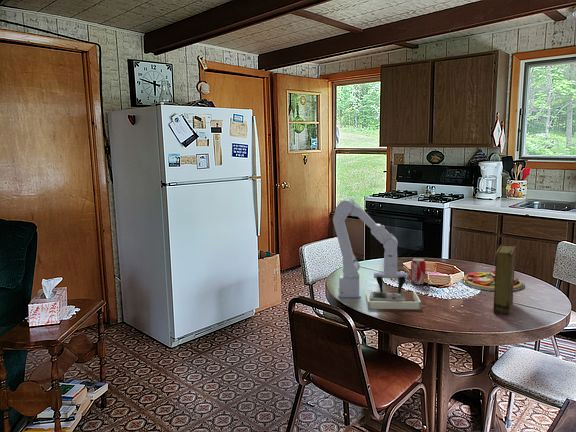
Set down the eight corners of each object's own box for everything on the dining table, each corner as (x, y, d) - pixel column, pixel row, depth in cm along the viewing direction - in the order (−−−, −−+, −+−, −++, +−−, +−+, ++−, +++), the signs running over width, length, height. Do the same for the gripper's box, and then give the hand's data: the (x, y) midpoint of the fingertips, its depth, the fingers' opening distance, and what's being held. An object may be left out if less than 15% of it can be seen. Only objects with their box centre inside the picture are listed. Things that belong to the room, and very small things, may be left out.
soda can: (426, 285, 211) (426, 261, 209) (411, 285, 213) (411, 261, 211) (424, 281, 218) (425, 257, 216) (410, 280, 220) (410, 257, 218)
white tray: (368, 308, 184) (368, 301, 183) (365, 297, 197) (365, 291, 196) (421, 309, 181) (421, 302, 181) (415, 298, 195) (415, 291, 194)
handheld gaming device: (404, 308, 184) (405, 299, 183) (369, 306, 188) (369, 297, 187) (405, 301, 192) (405, 293, 192) (370, 299, 196) (370, 291, 196)
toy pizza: (507, 274, 226) (507, 266, 225) (536, 292, 199) (536, 283, 198) (452, 276, 227) (453, 267, 226) (474, 293, 199) (474, 284, 199)
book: (498, 301, 188) (501, 244, 184) (512, 303, 185) (516, 245, 182) (493, 313, 175) (496, 252, 171) (508, 316, 172) (511, 253, 168)
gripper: (405, 261, 197) (405, 290, 199) (373, 261, 198) (373, 290, 200) (408, 265, 190) (408, 295, 192) (374, 265, 191) (374, 295, 193)
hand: (390, 293), depth 196 cm, fingers open, 7 cm apart
